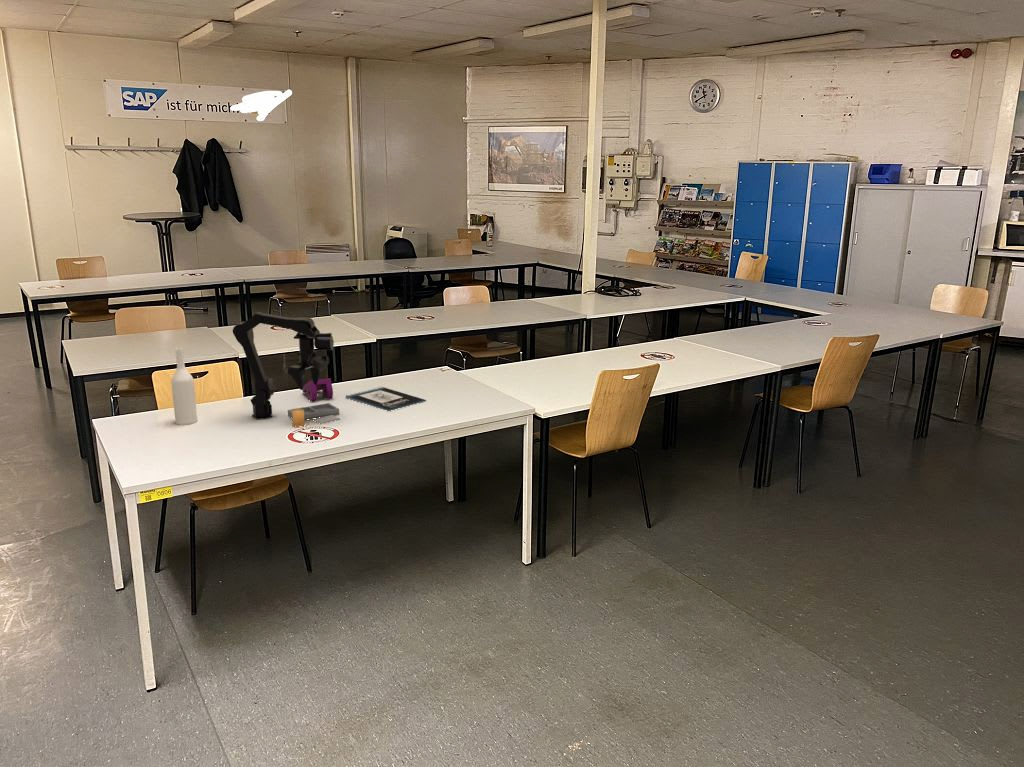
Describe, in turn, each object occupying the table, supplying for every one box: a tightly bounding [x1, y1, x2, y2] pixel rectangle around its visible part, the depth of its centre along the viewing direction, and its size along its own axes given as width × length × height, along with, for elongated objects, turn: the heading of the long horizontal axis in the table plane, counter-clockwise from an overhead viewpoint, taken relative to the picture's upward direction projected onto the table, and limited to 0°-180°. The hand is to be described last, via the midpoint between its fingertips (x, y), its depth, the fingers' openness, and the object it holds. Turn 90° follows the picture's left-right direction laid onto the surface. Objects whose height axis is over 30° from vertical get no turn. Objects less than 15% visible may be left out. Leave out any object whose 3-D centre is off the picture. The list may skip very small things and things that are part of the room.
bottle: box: [170, 347, 198, 426], centre depth 300 cm, size 8×8×30 cm
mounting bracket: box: [302, 377, 334, 402], centre depth 341 cm, size 9×8×18 cm
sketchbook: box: [345, 386, 427, 412], centre depth 338 cm, size 22×30×2 cm
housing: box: [287, 402, 340, 421], centre depth 314 cm, size 18×10×2 cm, turn 127°
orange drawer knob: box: [291, 408, 307, 428], centre depth 301 cm, size 5×5×6 cm
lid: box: [311, 415, 341, 425], centre depth 309 cm, size 9×6×1 cm, turn 135°
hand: (308, 387), depth 309 cm, fingers open, 9 cm apart
